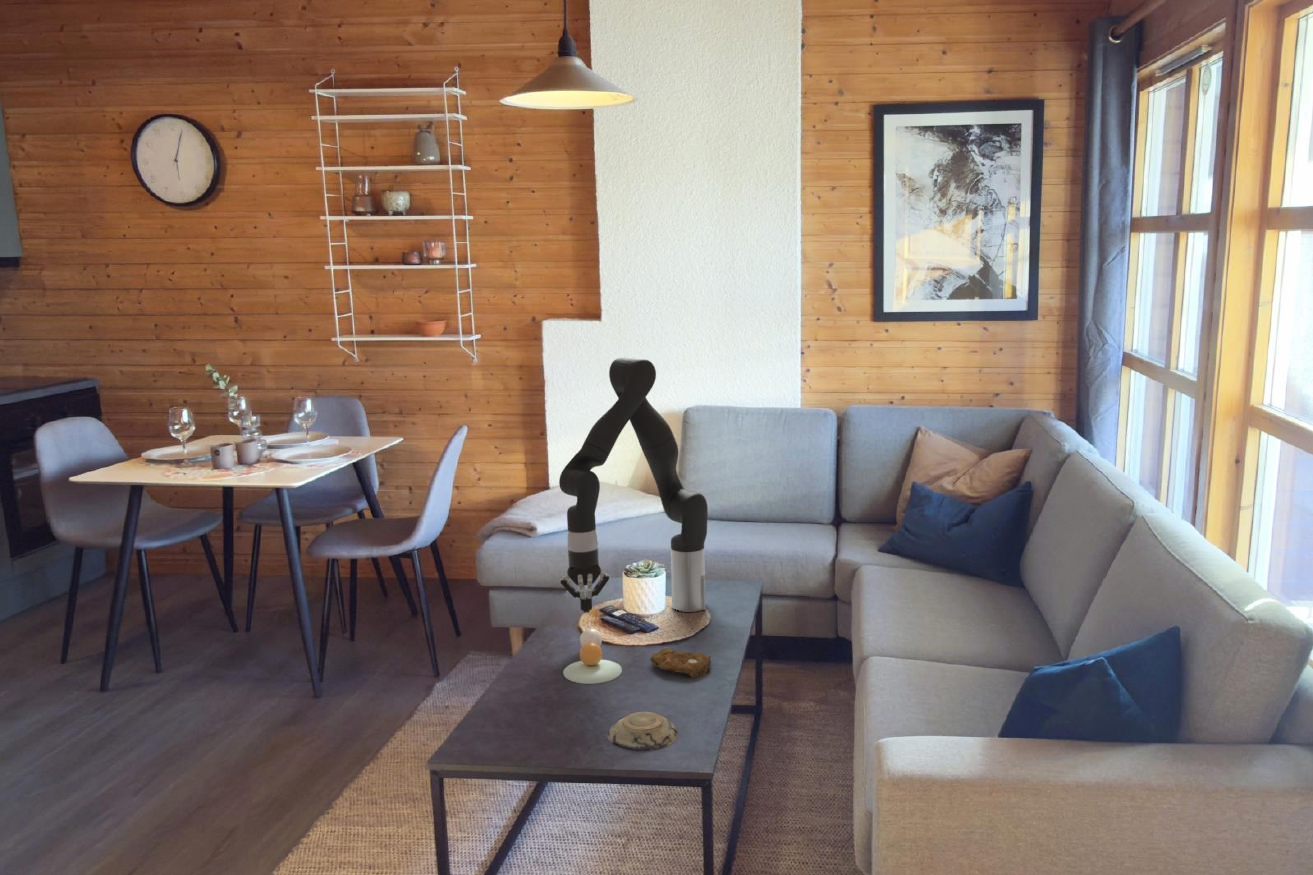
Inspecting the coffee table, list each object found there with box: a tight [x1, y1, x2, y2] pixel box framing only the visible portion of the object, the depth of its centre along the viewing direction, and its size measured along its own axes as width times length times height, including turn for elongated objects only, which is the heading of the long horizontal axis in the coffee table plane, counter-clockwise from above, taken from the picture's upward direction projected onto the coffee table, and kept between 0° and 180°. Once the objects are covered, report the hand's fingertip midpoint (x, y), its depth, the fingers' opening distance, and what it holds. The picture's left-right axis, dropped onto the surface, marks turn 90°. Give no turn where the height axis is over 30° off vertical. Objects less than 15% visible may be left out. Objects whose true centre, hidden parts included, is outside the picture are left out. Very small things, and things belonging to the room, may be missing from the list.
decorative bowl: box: [606, 711, 678, 752], centre depth 219 cm, size 15×4×15 cm
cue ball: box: [579, 628, 603, 648], centre depth 264 cm, size 6×6×6 cm
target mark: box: [562, 659, 623, 685], centre depth 251 cm, size 14×14×1 cm
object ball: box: [579, 643, 603, 666], centre depth 255 cm, size 6×6×6 cm
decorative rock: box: [649, 648, 712, 679], centre depth 252 cm, size 11×4×15 cm
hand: (586, 611), depth 268 cm, fingers closed
